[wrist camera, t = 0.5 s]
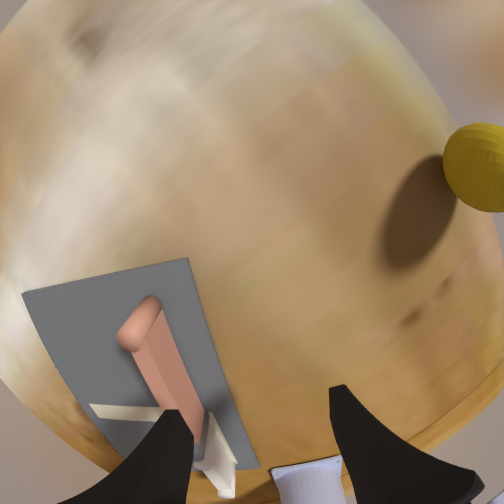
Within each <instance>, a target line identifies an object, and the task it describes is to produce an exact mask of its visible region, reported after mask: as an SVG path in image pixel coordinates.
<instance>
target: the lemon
mask: <svg viewBox="0 0 504 504" xmlns="http://www.w3.org/2000/svg"><path fill="white" fill-rule="evenodd" d="M443 170H444V174H445V177H446V180H447V182H448V184H449V186H450V188H451V189H452V191H453V192H454V194H455V195H456V196H457V197H458V198H459V199H460V200H461V201H463V202H464V203H465V204H467V205H469V206H471V207H473V208H475V209H477V210H480V211H484V212H496V213H497V212H498V213H499V212H504V127H502V126H499V125H495V124H489V123H473V124H469V125H466V126H464V127H461V128H460V129H458V130H457V131H456V132H455V133H454V134H453V135H452V136H451V137H450V138H449V140H448V142H447V144H446V146H445V149H444V153H443Z"/></svg>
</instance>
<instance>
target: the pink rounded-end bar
mask: <svg viewBox="0 0 504 504" xmlns="http://www.w3.org/2000/svg"><path fill="white" fill-rule="evenodd" d="M117 341H118V343H119V344H120V346H121V347H122V348H124V349H125V350H127V351H131V353H132V355H133V357H134V359H135V361H136V363H137V365H138V367H139V369H140V371H141V373H142V375H143V377H144V379H145V381H146V383H147V385H148V386H149V388H150V390H151V392H152V394H153V395H154V397H155V399H156V401H157V402H158V404H159V406H160V408H161V409H162V411H163V412H164V411H165V409H179V411H180V413H181V415H182V416H183V418H184V420H185V422H186V423H187V425H188V427H189V428H190V430H191V432H192V433H193V435H194V456H193V461H195V462H199V461H202V460H204V456H205V448H206V441H207V433H208V425H209V418H210V416H209V414H208V413H207V412H206V411H205V410H204V408H203V406H202V404H201V402H200V400H199V398H198V395H197V393H196V391H195V389H194V387H193V385H192V382H191V380H190V378H189V376H188V373H187V371H186V369H185V366H184V364H183V362H182V359H181V357H180V354H179V352H178V349H177V347H176V344H175V342H174V339H173V337H172V334H171V332H170V329H169V326H168V324H167V321H166V318H165V315H164V313H163V310H162V303H161V301H160V300H159V299H158V298H157V297H155V296H153V295H148V296H146V297H144V299H143V300H142V301H141V302H140V304H139V305H138V306H137V307H136V309H135V310H134V311H133V313H132V314H131V315H130V317H129V318H128V319H127V320H126V322H125V323H124V324H123V326H122V327H121V328H120V330H119V331H118V333H117Z"/></svg>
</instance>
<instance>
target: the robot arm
mask: <svg viewBox="0 0 504 504" xmlns="http://www.w3.org/2000/svg"><path fill="white" fill-rule="evenodd" d="M329 406H330V420H331V424H332V428H333V432H334V436H335V439H336V442H337V445H338V447H339V450H340V452H341V455H342V456H340V455H338V456H334V457H330V458H326V459H322V460H317V461H313V462H308V463H303V464H298V465H292V466H286V467H279V468H273V469H272V470H271V473H272V476H273V478H274V481H275V483H276V486H277V488H278V491H279V493H280V501H281V504H347V503H346V499H345V496H344V492H343V488H342V484H341V480H340V476H341V467H342V457H343V460H344V463H345V465H346V468H347V470H348V473H349V475H350V478H351V481H352V484H353V488H354V492H355V496H356V501H357V504H471V502H470V501H472V500H473V499H474V498H475V497H476V496H477V495H478V494H480V493H481V492H482V490H483V489H484V487H485V485H484V484H483V482H482V480H481V479H480V477H479V476H478V475H477V474H476V473H475V471H473V470H469V469H465V468H462V467H458V466H455V465H452V464H449V463H447V462H444V461H442V460H439V459H437V458H435V457H433V456H431V455H429V454H427V453H425V452H422V451H421V450H419V449H417V448H415V447H414V446H412V445H410V444H409V443H407V442H406V441H404V440H403V439H401V438H400V437H398V436H397V435H396V434H394V433H393V432H392V431H390V430H389V429H388V428H387V427H385V426H384V425H383V424H382V423H381V422H380V421H379V420H377V419H376V418H375V417H374V416H373V415H372V414H371V413H370V412H369V411H368V410H367V409H366V408H365V407H364V406H363V405H362V404H361V403H360V402H359V401H358V399H357V398H356V397H355V396H354V395H353V394H352V392H351V391H350V390H349V389H348V387H347V386H346V385H344V384H342V385H339V386H335V387H331V388H329ZM193 456H194V435H193V433H192V432H191V430H190V428H189V427H188V425H187V423H186V422H185V420H184V418H183V416H182V415H181V413H180V411H179V409H165V411H164V412H163V413H162V415H161V416H160V417H159V419H158V420H157V421H156V423H155V424H154V425H153V427H152V428H151V429H150V431H149V432H148V433H147V434H146V436H145V437H144V438H143V439H142V441H141V442H140V443H139V444H138V446H137V447H136V448H135V449H134V450H133V451H132V453H131V454H130V455H129V456H128V457H127V458H126V459H125V460H124V461H123V462H122V463H121V464H120V465H119V466H118V467H117V468H116V469H115V470H114V471H112V472H111V473H110V474H109V475H108V476H106V477H105V478H104V479H102V480H101V481H100V482H98V483H97V484H96V485H94V486H92V487H91V488H89V489H88V490H86V491H84V492H82V493H80V494H79V495H77V496H75V497H73V498H70V499H68V500H66V501H63V502H60V503H58V504H186V496H187V490H188V485H189V479H190V474H191V468H192V462H193ZM487 504H504V490H503V491H502V492H501V493H499V494H498V495H497V496H496V497H494V498H493V499H492V500H490V501H489V502H488V503H487Z"/></svg>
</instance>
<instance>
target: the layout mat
mask: <svg viewBox="0 0 504 504" xmlns="http://www.w3.org/2000/svg"><path fill="white" fill-rule="evenodd" d="M21 295H22V297H23V300H24V302H25V305H26V307H27V310H28V312H29V314H30V317H31V319H32V321H33V323H34V326H35V328H36V330H37V332H38V334H39V336H40V338H41V340H42V342H43V344H44V346H45V348H46V350H47V352H48V354H49V355H50V357H51V359H52V361H53V363H54V364H55V366H56V368H57V370H58V371H59V373H60V375H61V376H62V378H63V380H64V381H65V383H66V384H67V386H68V387H69V389H70V391H71V392H72V394H73V395H74V397H75V398H76V399H77V401H78V402H79V404H80V405H81V407H82V408H83V409H84V411H85V412H86V414H87V415H88V416H89V418H90V419H91V420H92V422H93V423H94V424H95V425H96V427H97V428H98V429H99V430H100V432H101V433H102V434H103V435H104V437H105V438H106V439H107V440H108V441H109V442H110V444H111V445H112V446H113V447H114V448H115V449H116V450H117V452H118V453H119V454H120V455H121V456H122V457H123V458H124V459H126V458H127V457H128V456H129V455H130V454H131V453H132V451H133V450H134V449H135V448H136V447H137V446H138V444H139V443H140V442H141V441H142V439H143V438H144V437H145V436H146V434H147V433H148V432H149V431H150V429H151V428H152V427H153V425H154V424H155V423H156V421H157V420H158V419H159V417H160V416H161V415H162V413H163V411H162V409H161V408H160V406H159V404H158V402H157V401H156V399H155V397H154V395H153V394H152V392H151V390H150V388H149V386H148V385H147V383H146V381H145V379H144V377H143V375H142V373H141V371H140V369H139V367H138V365H137V363H136V361H135V359H134V357H133V355H132V353H131V351H127V350H125V349H124V348H122V347H121V346H120V344H119V343H118V341H117V333H118V331H119V330H120V328H121V327H122V326H123V324H124V323H125V322H126V320H127V319H128V318H129V317H130V315H131V314H132V313H133V311H134V310H135V309H136V307H137V306H138V305H139V304H140V302H141V301H142V300H143V299H144V297H146V296H148V295H153V296H155V297H157V298H158V299H159V300H160V301H161V303H162V310H163V313H164V315H165V318H166V321H167V324H168V326H169V329H170V332H171V334H172V337H173V339H174V342H175V344H176V347H177V349H178V352H179V354H180V357H181V359H182V362H183V364H184V366H185V369H186V371H187V373H188V376H189V378H190V380H191V382H192V385H193V387H194V389H195V391H196V393H197V395H198V398H199V400H200V402H201V404H202V406H203V408H204V410H205V411H206V412H207V413H208V414H209V416H210V418H209V425H208V433H207V441H206V448H205V456H204V460H202V461H199V462H195V461H193V462H192V468H191V471H203V472H204V473H205V475H206V476H207V477H208V478H209V480H210V481H211V482H212V483H213V484H214V486H215V487H216V488H217V489H218V497H220V498H223V499H233V498H235V470H244V469H255V468H260V464H259V462H258V459H257V457H256V455H255V452H254V450H253V448H252V445H251V443H250V440H249V438H248V436H247V433H246V431H245V428H244V426H243V423H242V421H241V418H240V415H239V413H238V410H237V408H236V405H235V402H234V400H233V397H232V394H231V392H230V389H229V386H228V383H227V381H226V378H225V375H224V372H223V369H222V366H221V364H220V361H219V358H218V355H217V352H216V349H215V346H214V343H213V340H212V337H211V334H210V330H209V327H208V324H207V321H206V318H205V315H204V311H203V308H202V305H201V301H200V298H199V295H198V291H197V288H196V284H195V281H194V277H193V274H192V270H191V266H190V263H189V259H188V257H187V258H182V259H177V260H172V261H167V262H163V263H158V264H153V265H148V266H143V267H138V268H134V269H129V270H124V271H119V272H115V273H110V274H105V275H100V276H96V277H91V278H86V279H82V280H77V281H72V282H68V283H63V284H58V285H54V286H49V287H44V288H40V289H35V290H31V291H26V292H24V293H22V294H21Z"/></svg>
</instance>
